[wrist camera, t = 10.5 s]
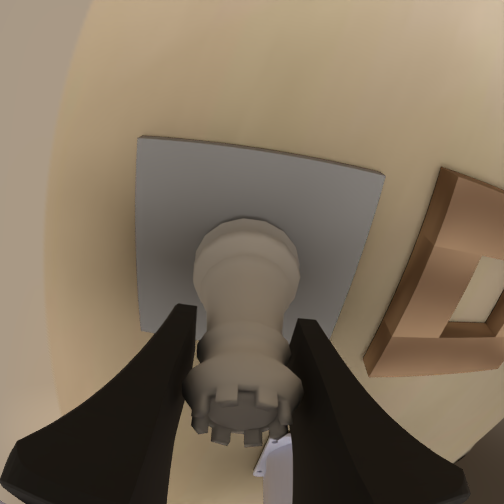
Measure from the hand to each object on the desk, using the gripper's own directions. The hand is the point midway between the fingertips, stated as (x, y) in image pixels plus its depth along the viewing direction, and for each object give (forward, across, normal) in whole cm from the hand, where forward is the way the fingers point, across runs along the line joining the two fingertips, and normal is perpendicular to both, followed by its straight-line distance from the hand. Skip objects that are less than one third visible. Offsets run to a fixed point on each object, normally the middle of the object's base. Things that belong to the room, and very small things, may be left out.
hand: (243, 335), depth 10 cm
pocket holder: (+5, -14, 0) cm, 15 cm away
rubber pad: (+5, 0, 0) cm, 5 cm away
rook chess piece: (+5, 0, 0) cm, 5 cm away
